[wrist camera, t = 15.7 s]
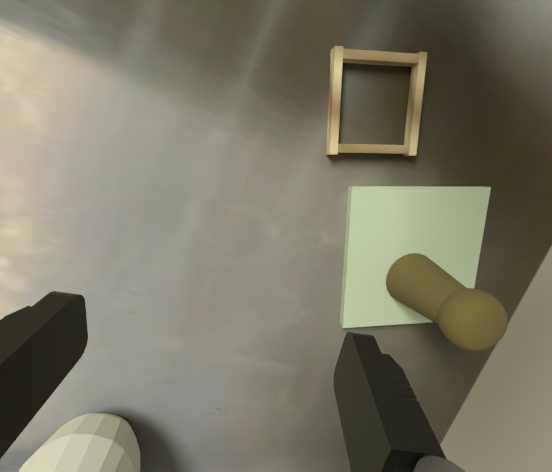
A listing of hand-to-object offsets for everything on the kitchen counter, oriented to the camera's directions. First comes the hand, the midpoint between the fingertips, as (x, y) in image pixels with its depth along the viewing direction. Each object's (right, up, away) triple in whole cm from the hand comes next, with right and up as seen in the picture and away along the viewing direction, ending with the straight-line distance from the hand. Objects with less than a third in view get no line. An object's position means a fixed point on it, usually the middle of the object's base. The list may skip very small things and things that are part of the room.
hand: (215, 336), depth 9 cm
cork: (+17, -2, +26) cm, 31 cm away
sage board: (+17, +1, +26) cm, 31 cm away
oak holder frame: (+12, +16, +22) cm, 29 cm away
